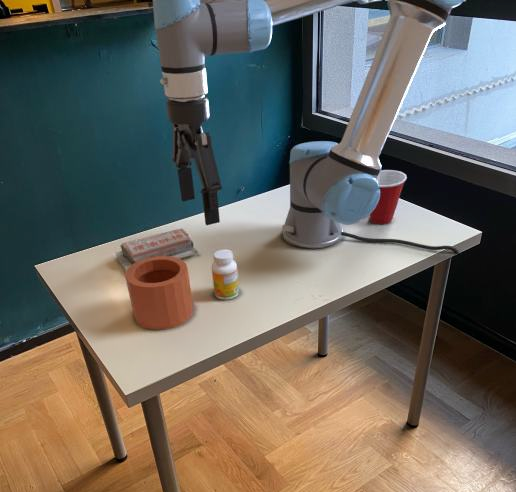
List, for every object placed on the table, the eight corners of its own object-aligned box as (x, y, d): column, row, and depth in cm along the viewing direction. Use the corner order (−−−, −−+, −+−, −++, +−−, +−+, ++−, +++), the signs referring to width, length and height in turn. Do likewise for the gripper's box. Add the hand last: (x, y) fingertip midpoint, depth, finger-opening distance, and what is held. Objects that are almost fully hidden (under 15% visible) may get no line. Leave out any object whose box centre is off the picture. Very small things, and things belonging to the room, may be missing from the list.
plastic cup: (355, 213, 143) (359, 170, 135) (393, 210, 143) (399, 167, 136) (365, 230, 134) (369, 185, 127) (405, 227, 135) (412, 182, 127)
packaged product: (180, 222, 131) (196, 237, 124) (182, 240, 134) (198, 255, 127) (111, 240, 124) (124, 257, 117) (115, 258, 127) (128, 275, 120)
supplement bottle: (211, 290, 113) (206, 251, 107) (233, 285, 115) (230, 245, 109) (219, 302, 109) (215, 262, 103) (242, 296, 111) (239, 256, 105)
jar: (198, 297, 111) (193, 256, 105) (186, 330, 102) (179, 287, 96) (144, 296, 113) (135, 255, 107) (127, 328, 103) (116, 286, 97)
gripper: (145, 87, 98) (163, 194, 111) (191, 115, 80) (205, 239, 93) (182, 81, 100) (195, 187, 114) (234, 107, 83) (242, 229, 96)
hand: (199, 211), depth 103 cm, fingers open, 13 cm apart
